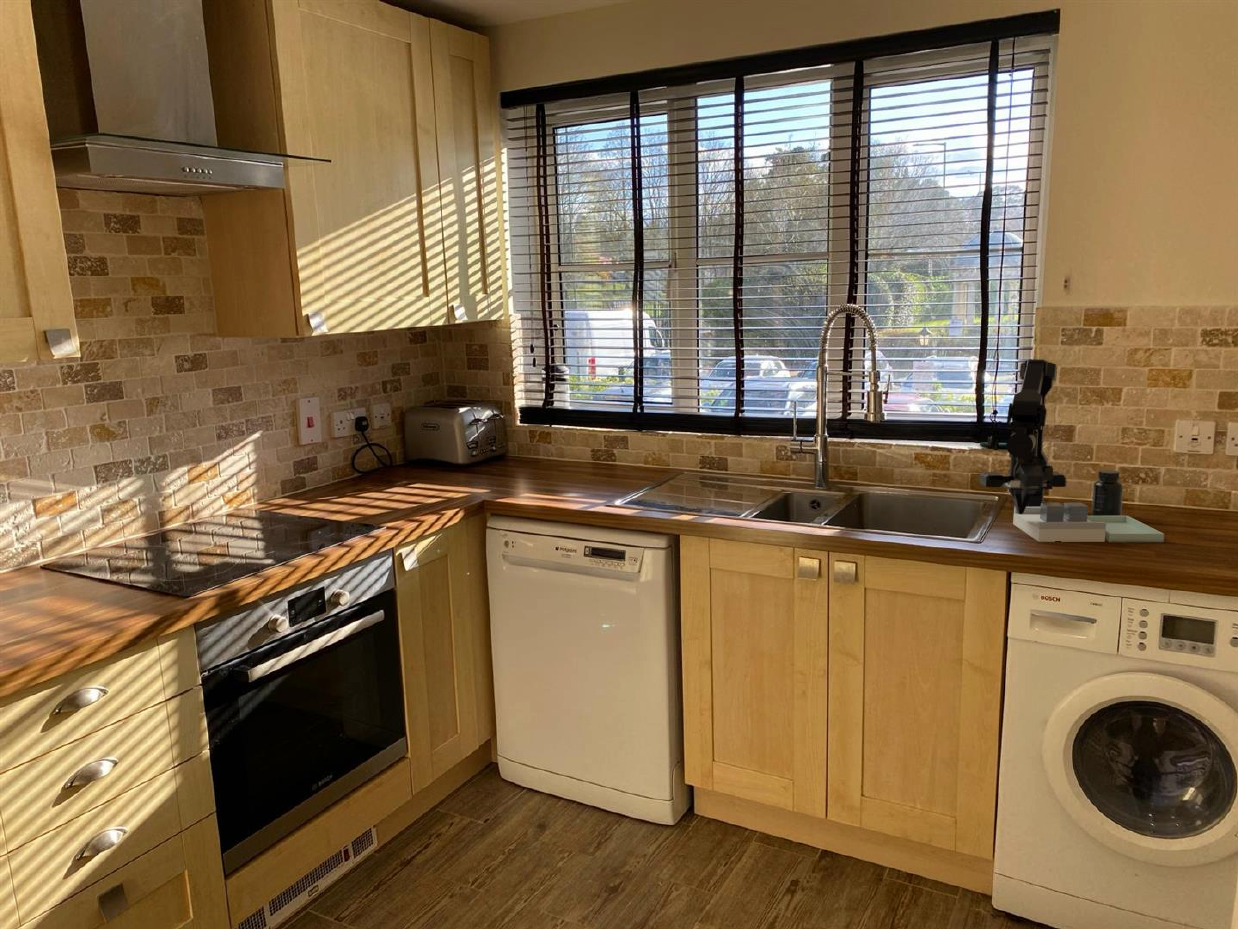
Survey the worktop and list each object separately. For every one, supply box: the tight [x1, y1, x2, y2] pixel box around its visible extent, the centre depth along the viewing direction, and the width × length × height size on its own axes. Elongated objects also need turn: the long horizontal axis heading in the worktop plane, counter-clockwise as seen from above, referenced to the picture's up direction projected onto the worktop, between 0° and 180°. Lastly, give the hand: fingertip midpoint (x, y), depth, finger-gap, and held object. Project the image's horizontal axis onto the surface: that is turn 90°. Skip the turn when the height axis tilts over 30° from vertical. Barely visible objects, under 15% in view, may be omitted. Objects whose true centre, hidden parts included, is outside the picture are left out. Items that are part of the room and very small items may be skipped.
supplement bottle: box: [1091, 469, 1124, 516], centre depth 236 cm, size 7×7×12 cm
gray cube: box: [1063, 502, 1089, 522], centre depth 221 cm, size 4×4×4 cm
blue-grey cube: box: [1040, 502, 1064, 522], centre depth 222 cm, size 4×4×4 cm
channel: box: [1012, 506, 1106, 543], centre depth 222 cm, size 17×15×4 cm
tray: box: [1087, 515, 1165, 543], centre depth 221 cm, size 18×12×2 cm, turn 176°
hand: (1020, 514), depth 222 cm, fingers closed
